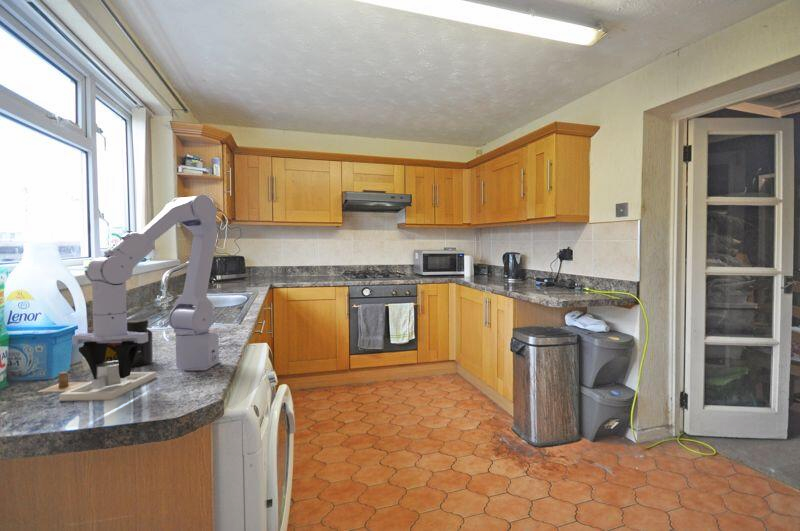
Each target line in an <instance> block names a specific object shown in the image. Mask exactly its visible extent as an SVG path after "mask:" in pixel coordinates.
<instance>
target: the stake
mask: <svg viewBox="0 0 800 531" xmlns="http://www.w3.org/2000/svg"><path fill="white" fill-rule="evenodd" d="M57 375H58V376H57V379H58V383H57V384H53V385H51V386H49V387H45V388H43V389H40V390H37V391H36V392H37V393H49V392H50V393H55V392H56V393H57V392H62V393H64V392H66V391H69V390H71V389H73V388H76V387H78V386H81V385H83V384H86V383H88V382H89V381H70V382H69V371H61V372H59V373H58V374H57Z"/></svg>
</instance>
